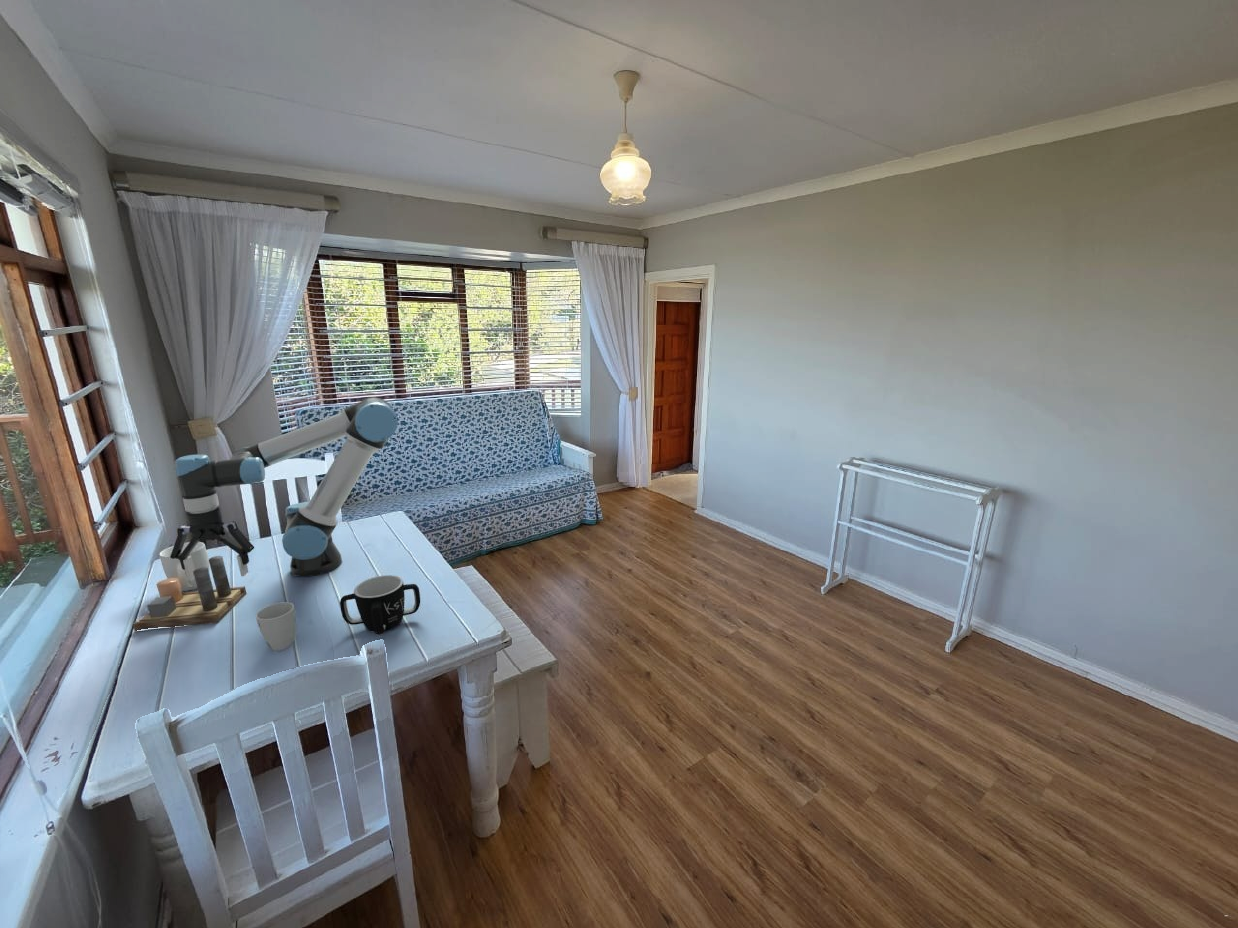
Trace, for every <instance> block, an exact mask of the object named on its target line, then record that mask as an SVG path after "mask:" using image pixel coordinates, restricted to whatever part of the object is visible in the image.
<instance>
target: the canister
mask: <svg viewBox="0 0 1238 928" xmlns="http://www.w3.org/2000/svg"><path fill="white" fill-rule="evenodd" d="M156 588H157V591H158V594H159V595H158V596H159V597H168V596H173V597H174V601H175V602H178V601H180V600H182V599H183V594H182V593H183V591H182V590H181V587H180V583H179V580H178V578H169V579H168V578H165V579H162V580H161V581H158V582H157V583H156Z"/></svg>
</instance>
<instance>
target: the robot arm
mask: <svg viewBox="0 0 1238 928" xmlns="http://www.w3.org/2000/svg"><path fill="white" fill-rule="evenodd" d="M398 423H399V422H398V416H397V413H396V412H395V410H394V409H393V406H392V405H391V404H390V403H389V402H388V401H386V400H385V399H383V398H379V397H369V398H368V397H367V398H364V399H362V400H360V401H359V402H357V403H354V404H352V405H350V406H347V407H345V408H342V410H341V412H340V413H337V414H335V415H333V416H330V417H327V418H323V419H322V420H319V421H317V422H313V423H311V424H309V425H305V426H302V427H300V428H298V429H294V430H292V431H289V432H287V433H284V434H281V435H279V436H278V435H277V436H276V437H272V438H270V439H268V440H266V441H265V440H264V441H262V442H258V443H257V444H255V445H252V446H251V445H250V446H245V447H240V448H239V449H237V450H236V451H235V452H234V453H233V455H232V456H231V458H230V459H223V460H222V459H221V460H211V459H210V457H209V456H208V455H207V454H190V455H189V454H188V455H184V456H181V457H178V458H177V459H176V460H175V461H174V466H175V473H176V474H175V476H176V479H177V482H178V485H179V489H180V492H181V497H182V501H183V505H184V509H185V512H186V519H187V522H188V525H189V526H187V525H186V524H183V525H181V526H180V527H178V528H177V529H176V532H177V534H176V535H177V536H176V540H175V541H174V544H173V546H174V547H173V550H172V553H171V556H170V557H171V558H172V559H174V558H176V559H179V560H180V563H181V567H182V569H183V570H186V574H187V578H188V581H191V580H193V579H194V578H195V577H194V573H193V571H194V570H195V568H194V564H193V560H192V556H189V557H187V556H188V555H189V554H190V552H191V551H192V550H193V548H194V547H195V546H196V544H197V543H198V542H200V541H202V542H204V541H205V542H206V541H218V542H222V544H224V545H225V546H227V547H229V548H230V549H231V550H233V551H234V552H235V553H237V554H238V555H236V559H237V565H238V569H239V573H240V576H241V577H245V576H246V575H247V574H248V573H249V567H248V564H249V562H250V558H249V553H251V552H252V551H253V550H254V549H255V546H254V545H253V544H252V542H251V541H250V540H249V539H248V538H247V537H246V536H245V535H244V533H243V532H242V531H241V530H240V529H239V528H238V525H237V522H236V521H231V522H229V523H224V522H223V515H222V511H221V507H220V506H219V505H220V502H219V497H218V494H217V490H216V489H217V488H222V487H231V486H241V485H252V484H256V483H262V482H264V480H265V479H266V470H265V468H268V467H271V466H272V465H275V464H278V463H281V462H283V461H286V460H288V459H291V458H294V457H295V456H299V455H302V454H305V453H306V452H309V451H311V450H315V449H316V448H320V447H322V446H325V445H327V444H330V443H332V442H335V441H339V440H340V439H343V438H345V437H346V440H345V442H344V443H343V445H342V447H341V448H340V450H339V451H338V453H337V455H336V457H335V458H334V460H333V461H332V464H331V465H330V466H329V468H328V470H327V471H326V473H325V475H324V477H323V479H322V480H321V482H320V483H319V485H318V487H317V489H316V490H315V491H314V493H313V495H312V497H311V499H310V500H309V501H304V502H298V503H295V504H291V505H288V506H286V508H285V514H284V515H285V517H286V522H287V524H286V526H285V527H286V528H285V531H284V534H283V535H282V539H281V542H282V543H281V544H282V548H283V549H284V552H285V553H286V554H287V555H288V556H290V557H291V559H290V571H291V574H292V575H293V576H295V577H303V578H304V577H314V576H318V575H319V576H320V575H323V574H326V573H328V572H331V571H332V570H333V571H334V569H336V568H338V567H339V566H340V565H341V564H342V562H343V560H342V559H343V558H342V554H341V553H340V551H339V549H338V547H337V546H336V544H335V543H334V541H333V536H332V533H333V532H334V530H335V529H336V527H337V525H338V523H339V522H338V519H337V515H338V514H339V512H340V510H341V509H342V506H343V505H344V504H345V502H346V500H347V498H348V496H349V495H350V493H351V491H352V490H353V488H354V487H355V485H356V483H357V482H358V480H359V478H360V476H361V475H362V473H363V471H364V469H365V468H366V467H367V465H368V463H369V461H370V460H371V458H372V456H373V454H374V453H375V452H377V451H381V450H382V449H383V448H384V447H385V444H386V443H387V442H388V440H389V439H390V438H391V437H393V435H394V434H395V433H396V431H397V429H398V425H399V424H398ZM225 530H226V531H225ZM189 533H191V534H192V535H193V537H192V538H191V539H190V541H189V542H190V543H189V544H188V545H187V547H186V548H185V549H184V551H183V552H182V553H181V551H182V548H183V545H184V543H186V539H187V537H188V535H189ZM229 534H230V535H231V536H230V535H229Z"/></svg>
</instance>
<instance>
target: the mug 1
mask: <svg viewBox="0 0 1238 928" xmlns="http://www.w3.org/2000/svg"><path fill="white" fill-rule="evenodd" d="M189 543H190V541H189V542H184V545H183V548H182V551H181V553H182V552H183V551H184V549H185V548H186V547H187V545H188V544H189ZM173 547H174V545H172V546H169V547H166V548H165V549H163V550H162V551H160V552H159V560H160V562H161V566H162V570H163V572H164V574H165V577H166V579H169V578H178V580H179V583H180V587H181V590H182V592H189V591H188V590H190V591H194V590H198V588H197V584H196V581H195V578H194V579H193V580H191V581H188V578H187V574H186V570H183V569H182V567H181V563H180V560H179V559H176V558H174V559H172V558H171V557H170V556H171V553H172V550H173ZM189 556H192V560H193V564H194V568H195V570H196V569H199V568H205V567H206V568H208V571H209V572H210V570H211V567H210V563H209V559H210V558H209V554H208V552H207V548H206V544H205V543H204V542H203V541H202V542H201V541H199V542H198V543H197V544H196V546H195V547H194V548H193V550H192V551H191V552H190V554H189V555H188V556H187V557H189Z"/></svg>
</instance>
